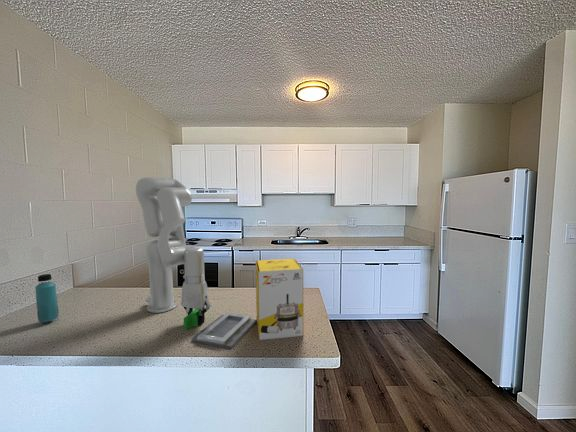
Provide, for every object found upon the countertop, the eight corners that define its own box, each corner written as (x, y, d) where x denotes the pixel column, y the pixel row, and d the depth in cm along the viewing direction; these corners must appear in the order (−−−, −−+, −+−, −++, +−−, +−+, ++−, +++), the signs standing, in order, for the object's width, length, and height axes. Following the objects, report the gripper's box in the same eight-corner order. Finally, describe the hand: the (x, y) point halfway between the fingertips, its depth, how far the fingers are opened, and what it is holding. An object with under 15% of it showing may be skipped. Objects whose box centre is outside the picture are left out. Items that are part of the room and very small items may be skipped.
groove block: (191, 341, 94) (191, 335, 94) (222, 316, 113) (222, 311, 113) (231, 349, 89) (230, 342, 89) (256, 322, 108) (256, 316, 108)
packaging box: (294, 316, 113) (294, 258, 112) (303, 335, 98) (303, 269, 96) (256, 319, 111) (255, 260, 109) (259, 340, 95) (258, 271, 93)
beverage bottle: (62, 319, 112) (59, 273, 110) (44, 327, 105) (40, 277, 104) (52, 317, 114) (49, 271, 112) (33, 324, 108) (29, 276, 106)
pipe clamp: (192, 330, 102) (192, 319, 102) (184, 329, 103) (183, 318, 102) (206, 317, 113) (206, 306, 113) (198, 316, 114) (198, 306, 113)
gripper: (171, 279, 106) (172, 323, 107) (207, 283, 100) (208, 330, 102) (184, 274, 113) (185, 315, 114) (218, 277, 108) (219, 321, 109)
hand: (196, 322), depth 108 cm, fingers closed on pipe clamp, 4 cm apart
